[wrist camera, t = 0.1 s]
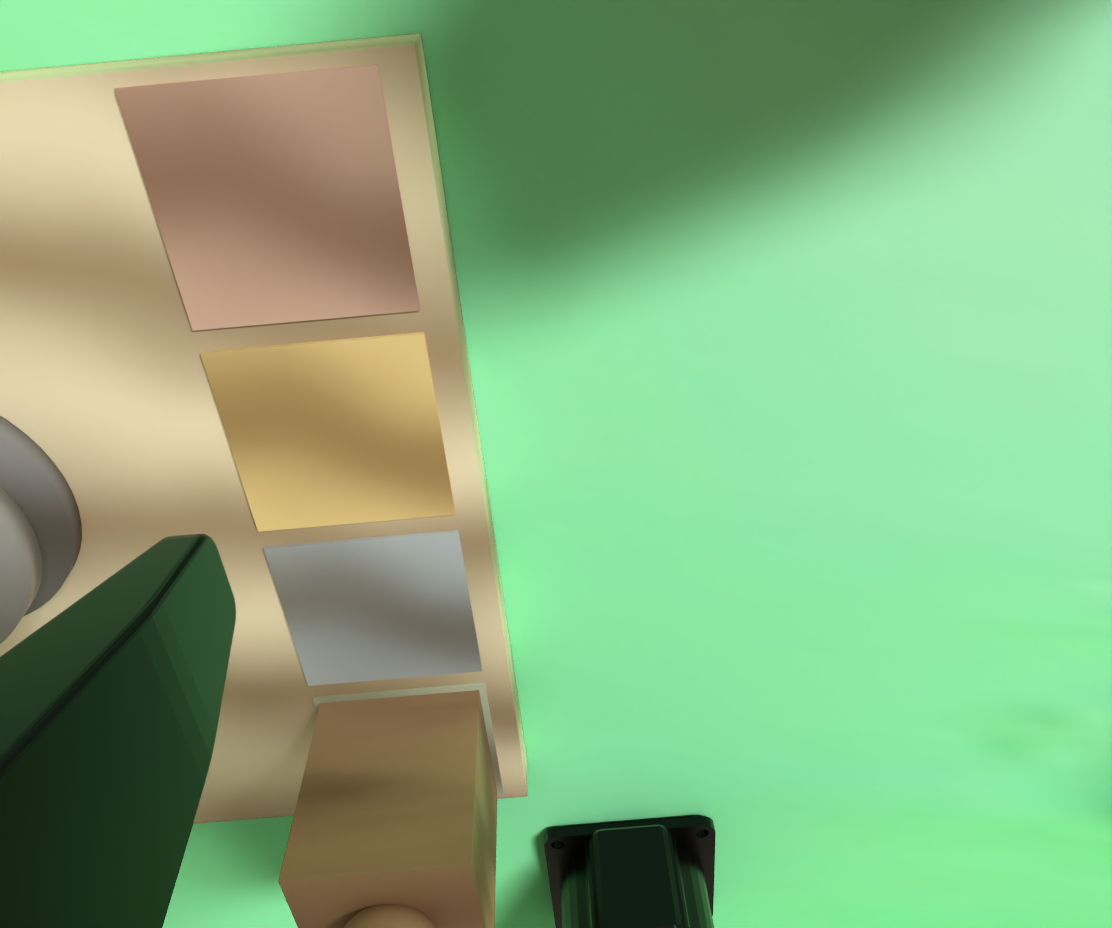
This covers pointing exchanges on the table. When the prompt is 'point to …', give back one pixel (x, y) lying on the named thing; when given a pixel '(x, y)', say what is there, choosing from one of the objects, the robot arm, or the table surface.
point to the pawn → (395, 817)
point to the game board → (254, 379)
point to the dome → (16, 565)
